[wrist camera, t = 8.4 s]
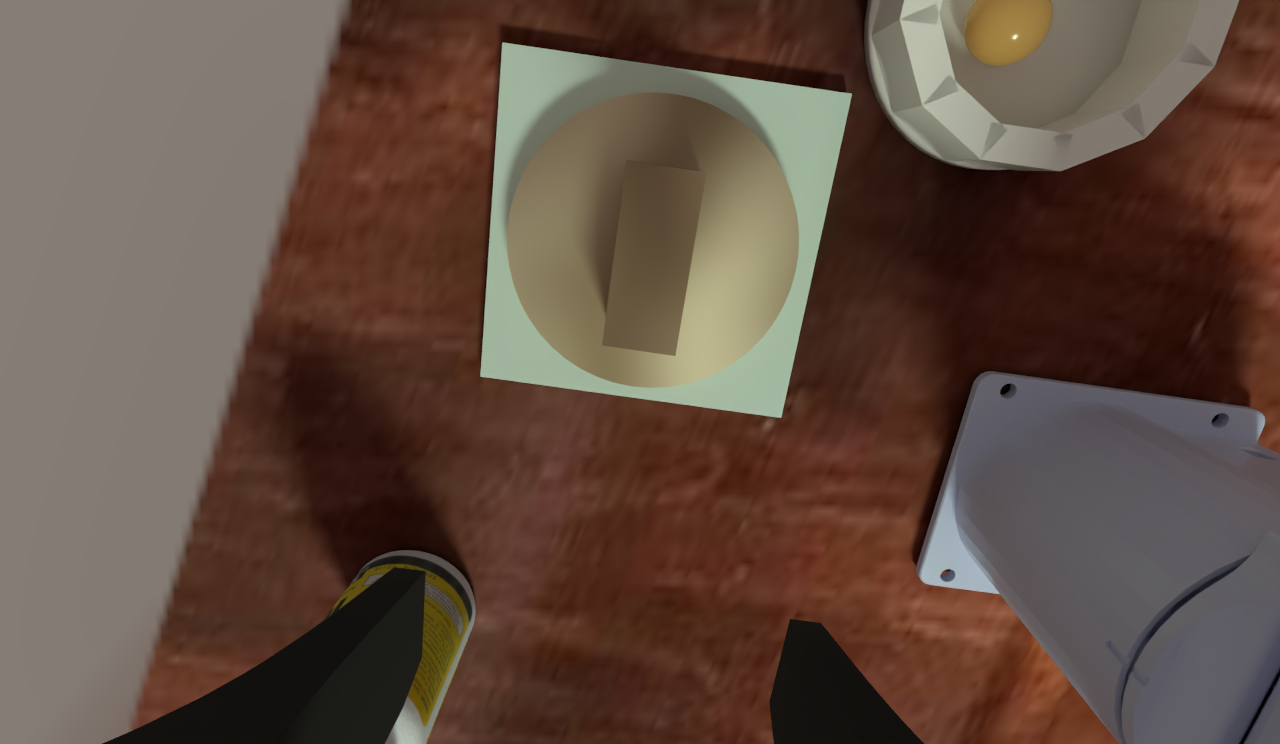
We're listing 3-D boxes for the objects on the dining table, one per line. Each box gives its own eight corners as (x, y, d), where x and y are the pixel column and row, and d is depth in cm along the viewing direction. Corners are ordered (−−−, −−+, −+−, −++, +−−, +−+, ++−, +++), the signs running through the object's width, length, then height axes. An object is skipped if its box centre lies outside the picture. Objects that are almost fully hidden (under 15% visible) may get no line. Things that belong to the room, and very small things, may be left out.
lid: (822, 119, 19) (855, 111, 16) (762, 397, 22) (780, 437, 18) (525, 73, 19) (499, 55, 16) (501, 359, 21) (475, 393, 18)
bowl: (1203, -125, 17) (1310, -182, 14) (1097, 187, 20) (1172, 191, 17) (904, -171, 17) (954, -238, 14) (835, 149, 20) (866, 146, 17)
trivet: (847, 95, 19) (852, 93, 19) (778, 412, 22) (781, 417, 22) (506, 45, 19) (502, 42, 18) (484, 371, 22) (480, 376, 21)
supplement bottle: (358, 534, 24) (208, 720, 16) (485, 558, 24) (400, 753, 16) (350, 640, 26) (209, 859, 17) (470, 661, 26) (385, 888, 18)
